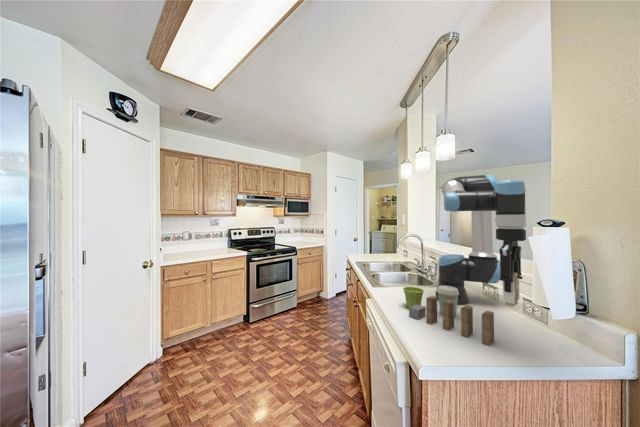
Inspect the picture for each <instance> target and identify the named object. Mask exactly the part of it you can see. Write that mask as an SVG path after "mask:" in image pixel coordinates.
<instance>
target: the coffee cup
mask: <svg viewBox="0 0 640 427" xmlns="http://www.w3.org/2000/svg"><path fill="white" fill-rule="evenodd" d="M437 287H438V286H437ZM436 290H437V292H438V298H439V300H438V304H439V312H440V316H442V317H443V302H446V301H448V300H450V301H454V319H455V318H456V317H457V309H458V308H457V307H458V305H457V302H458V295H459V292H458V289H457V288H455V287H451V286H439V287H438V289H437V288H436Z"/></svg>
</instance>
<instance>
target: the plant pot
mask: <svg viewBox="0 0 640 427" xmlns="http://www.w3.org/2000/svg"><path fill="white" fill-rule="evenodd" d="M402 290H403V293H404V296H405V302H406V304H405V305H406V307H407V308H408V309H409V307H412V306H414V305H420V306H422V301H423V300H422V299H423V295H424V293H425V290H424V289H423V288H421V287H416V286H405V287H403V288H402Z"/></svg>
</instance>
